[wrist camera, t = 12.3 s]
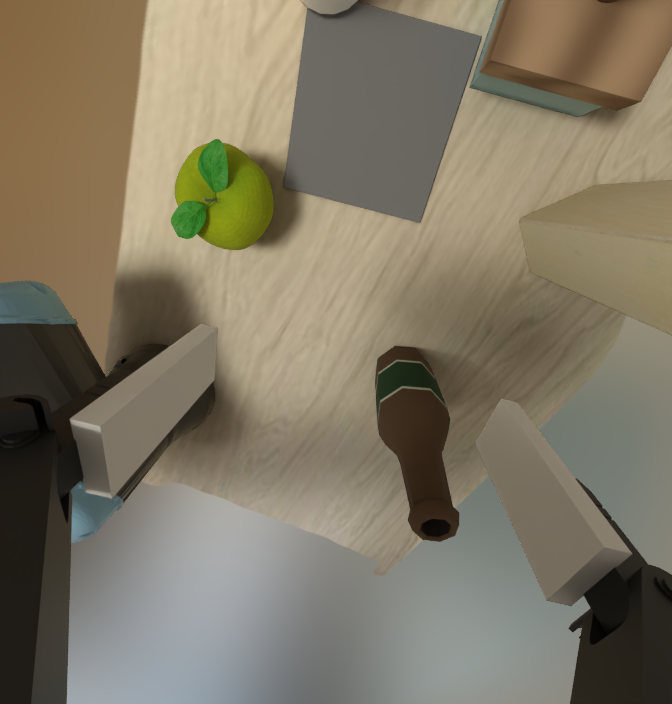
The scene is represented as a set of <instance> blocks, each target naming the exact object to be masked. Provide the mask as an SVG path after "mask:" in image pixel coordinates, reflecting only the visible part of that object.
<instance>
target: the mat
mask: <svg viewBox="0 0 672 704" xmlns="http://www.w3.org/2000/svg"><path fill="white" fill-rule="evenodd" d="M481 37H482V36H479V35H475V34H471V33H468V32H464V31H461V30H457V29H453V28H450V27H446V26H442V25H439V24H435V23H432V22H428V21H424V20H421V19H417V18H413V17H410V16H406V15H403V14H399V13H395V12H392V11H388V10H385V9H381V8H377V7H374V6H370V5H366V4H363V3H359V2H356V3H354V4H353V5H352V6H351V7H350V8H349V9H347V10H345V11H342V12H339V13H337V14H320V13H318V12H316V11H314V10H312V9H310V8H307V15H306V22H305V30H304V37H303V45H302V52H301V60H300V67H299V75H298V82H297V90H296V97H295V105H294V112H293V120H292V127H291V134H290V142H289V149H288V157H287V164H286V172H285V179H284V188H288V189H292V190H296V191H300V192H304V193H307V194H311V195H315V196H319V197H323V198H327V199H330V200H334V201H338V202H342V203H346V204H350V205H353V206H357V207H361V208H365V209H369V210H373V211H376V212H380V213H384V214H388V215H392V216H396V217H399V218H403V219H407V220H411V221H415V222H419V223H420V221H421V218H422V215H423V212H424V209H425V206H426V203H427V200H428V197H429V194H430V191H431V187H432V184H433V181H434V178H435V175H436V172H437V169H438V166H439V163H440V160H441V157H442V154H443V151H444V148H445V145H446V142H447V139H448V136H449V133H450V130H451V127H452V124H453V121H454V118H455V115H456V112H457V109H458V106H459V103H460V100H461V97H462V94H463V91H464V88H465V85H466V82H467V79H468V76H469V73H470V70H471V67H472V64H473V61H474V58H475V55H476V52H477V49H478V46H479V43H480V40H481Z"/></svg>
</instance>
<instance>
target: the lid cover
mask: <svg viewBox="0 0 672 704" xmlns="http://www.w3.org/2000/svg"><path fill="white" fill-rule="evenodd" d="M671 46H672V0H504V1H503V4H502V7H501V10H500V13H499V16H498V19H497V22H496V25H495V28H494V31H493V34H492V36H491V39H490V42H489V45H488V48H487V51H486V54H485V57H484V60H483V63H482V66H481V69H480V71H479V73H481V74H485V75H488V76H492V77H496V78H499V79H503V80H507V81H510V82H514V83H518V84H521V85H525V86H529V87H532V88H536V89H539V90H543V91H547V92H550V93H554V94H558V95H561V96H565V97H569V98H572V99H576V100H580V101H583V102H587V103H591V104H594V105H598V106H602V107H605V108H609V109H612V110H616V111H617V110H620V109H623V108H625V107H628V106H631V105H633V104H636V103H639V102H641V101H642V99H643V97H644V95H645V94H646V92H647V90H648V88H649V86H650V85H651V83H652V81H653V79H654V77H655V75H656V74H657V72H658V70H659V68H660V66H661V64H662V63H663V61H664V59H665V57H666V55H667V54H668V52H669V50H670V48H671Z"/></svg>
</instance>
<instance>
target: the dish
mask: <svg viewBox="0 0 672 704" xmlns="http://www.w3.org/2000/svg"><path fill="white" fill-rule="evenodd" d="M503 1H504V0H499V1H498V4H497V7H496V10H495V13H494V16H493V19H492V22H491V25H490V28H489V31H488V34H487V37H486V40H485V43H484V46H483V49H482V52H481V55H480V58H479V61H478V64H477V67H476V70H475V73H474V76H473V79H472V81H471V84H470V88H473V89H477V90H481V91H484V92H488V93H492V94H496V95H499V96H503V97H507V98H510V99H514V100H518V101H521V102H525V103H529V104H532V105H536V106H540V107H543V108H547V109H551V110H554V111H558V112H562V113H565V114H569V115H573V116H576V117H579V116H581V115H584V114H586V113H588V112H591V111H593V110H596V109H598V108H601V107H602V106H598V105H594V104H591V103H587V102H583V101H580V100H576V99H572V98H569V97H565V96H561V95H558V94H554V93H550V92H547V91H543V90H539V89H536V88H532V87H529V86H525V85H521V84H518V83H514V82H510V81H507V80H503V79H499V78H496V77H492V76H488V75H485V74H481V73H479V71H480V69H481V66H482V63H483V60H484V57H485V54H486V51H487V48H488V45H489V42H490V39H491V36H492V34H493V31H494V28H495V25H496V22H497V19H498V16H499V13H500V10H501V7H502V4H503Z"/></svg>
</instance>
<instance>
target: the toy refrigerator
mask: <svg viewBox="0 0 672 704" xmlns="http://www.w3.org/2000/svg"><path fill="white" fill-rule="evenodd" d="M520 227H521V232H522V237H523V241H524V246H525V251H526V255H527V260H528V264H529V269H530V272H532V273H534V274H536V275H538V276H540V277H542V278H544V279H547V280H549V281H551V282H553V283H556V284H558V285H560V286H562V287H565V288H567V289H569V290H571V291H574V292H576V293H578V294H581V295H583V296H585V297H587V298H589V299H592V300H594V301H596V302H599V303H601V304H603V305H605V306H608V307H610V308H612V309H614V310H617V311H619V312H621V313H623V314H625V315H627V316H630V317H632V318H634V319H636V320H638V321H641V322H643V323H645V324H647V325H650V326H652V327H655V328H657V329H659V330H661V331H663V332H665V333H667V334H669V335H672V180H665V181H650V182H635V183H619V184H603V185H596V186H593V187H590V188H588V189H586V190H583V191H581V192H579V193H576V194H574V195H572V196H570V197H567V198H565V199H563V200H561V201H558V202H556V203H554V204H551V205H549V206H547V207H545V208H542V209H540V210H538V211H536V212H533V213H531V214H529V215H527V216H525V217H523V218H521V219H520Z"/></svg>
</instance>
